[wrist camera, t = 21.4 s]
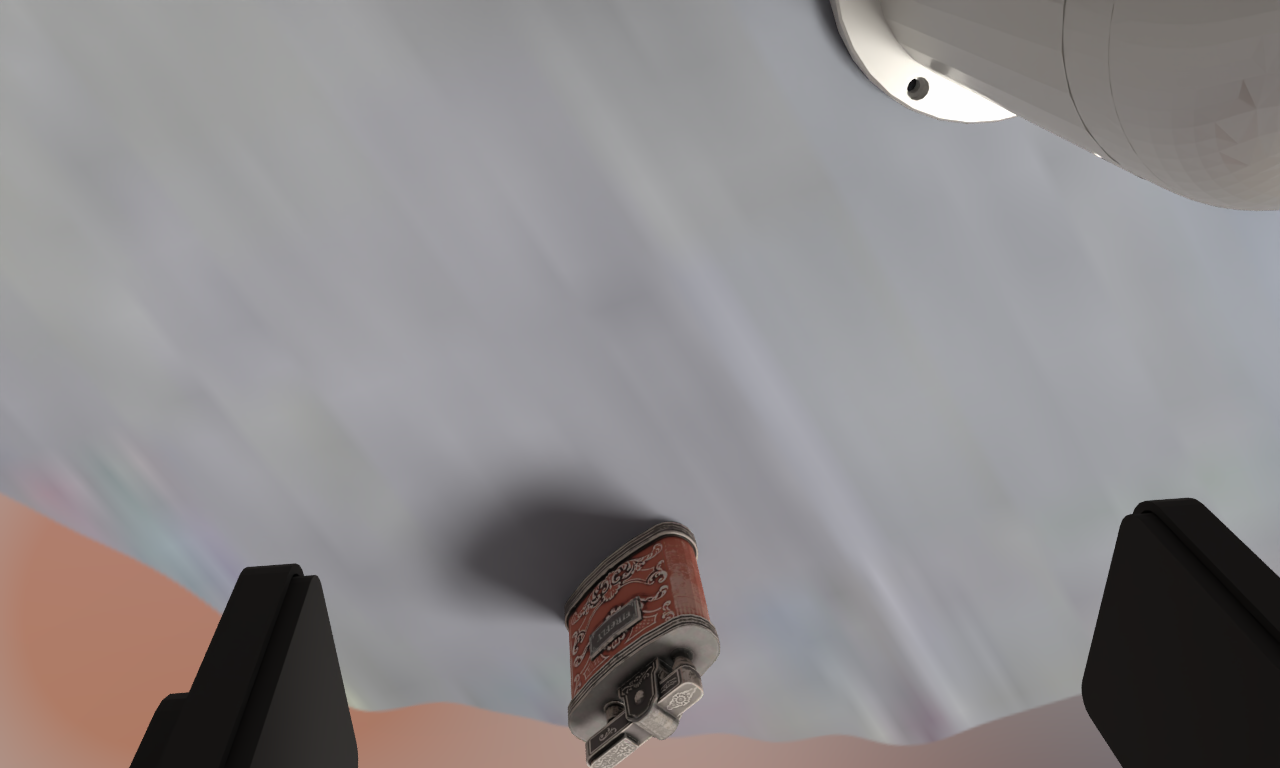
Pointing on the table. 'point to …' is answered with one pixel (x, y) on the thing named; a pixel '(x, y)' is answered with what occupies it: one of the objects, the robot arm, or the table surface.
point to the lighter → (638, 644)
